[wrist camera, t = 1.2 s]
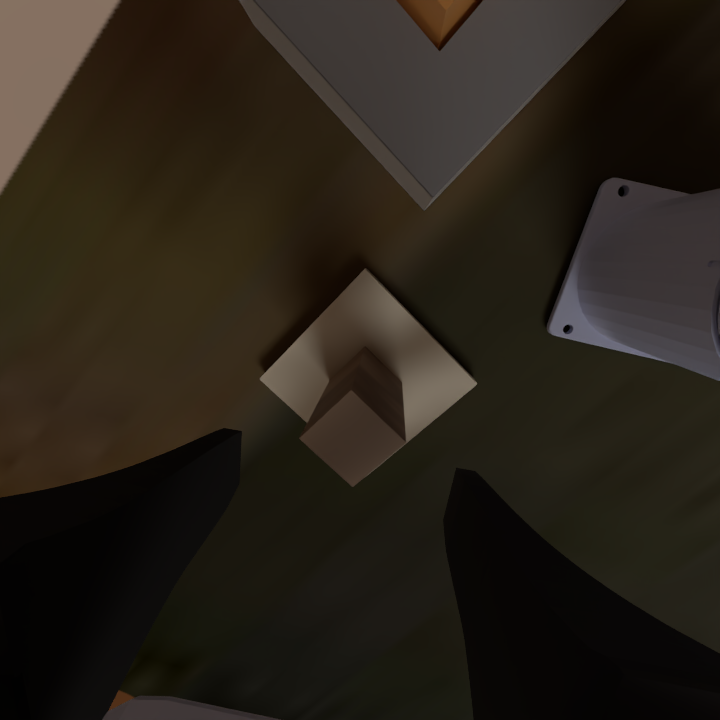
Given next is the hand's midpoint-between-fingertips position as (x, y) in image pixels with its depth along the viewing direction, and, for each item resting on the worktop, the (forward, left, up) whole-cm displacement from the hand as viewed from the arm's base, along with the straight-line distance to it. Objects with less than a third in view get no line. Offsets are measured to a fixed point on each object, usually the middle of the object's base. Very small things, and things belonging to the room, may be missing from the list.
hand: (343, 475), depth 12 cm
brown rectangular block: (0, 0, -9) cm, 9 cm away
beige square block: (0, 0, -10) cm, 10 cm away
